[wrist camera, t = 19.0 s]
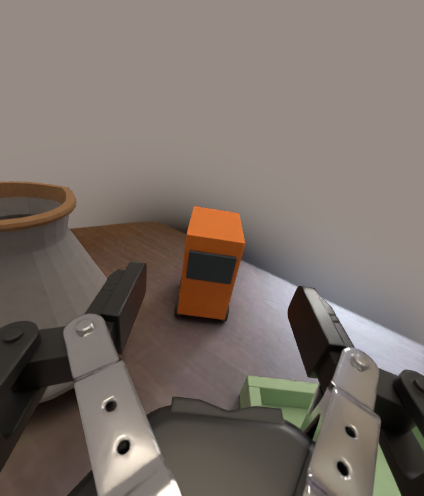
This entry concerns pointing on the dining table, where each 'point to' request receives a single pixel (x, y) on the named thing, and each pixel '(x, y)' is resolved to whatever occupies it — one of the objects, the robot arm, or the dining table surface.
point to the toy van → (210, 263)
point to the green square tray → (295, 409)
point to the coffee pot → (43, 261)
